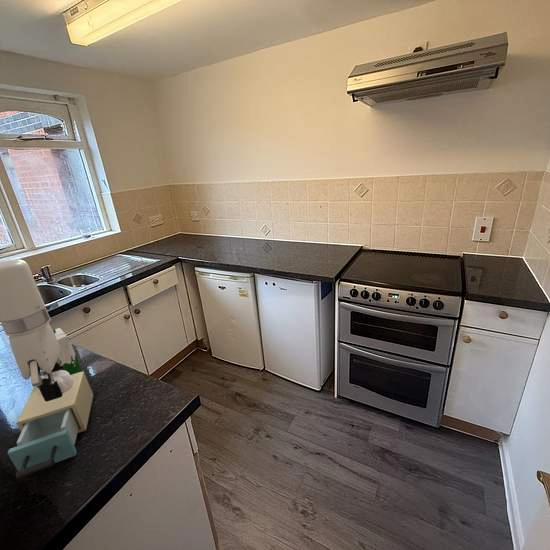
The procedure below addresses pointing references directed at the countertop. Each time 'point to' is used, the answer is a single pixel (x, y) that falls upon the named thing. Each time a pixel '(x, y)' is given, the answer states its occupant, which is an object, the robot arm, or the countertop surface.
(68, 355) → the milk carton
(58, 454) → the drawer
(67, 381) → the dumpling
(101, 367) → the countertop surface
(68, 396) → the cabinet
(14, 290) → the robot arm
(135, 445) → the countertop surface
